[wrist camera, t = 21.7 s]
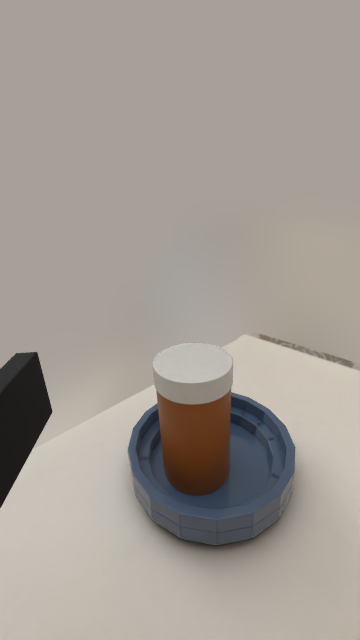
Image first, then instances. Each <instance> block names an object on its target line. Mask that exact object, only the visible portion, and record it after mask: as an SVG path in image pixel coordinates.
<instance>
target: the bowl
mask: <svg viewBox="0 0 360 640" xmlns="http://www.w3.org/2000/svg"><path fill="white" fill-rule="evenodd" d="M128 455H129V462H130V468H131V474H132V479H133V484H134V489H135V494H136V497H137V499H138V500H139V502H140V503H141V504H142V506H143V507H144V509H145V510H146V512H147V513H148V514H149V516H150V517H151V519H152V520H153V521H154V522H156V523H157V524H159V525H160V526H162V527H164V528H165V529H167V530H168V531H170V532H171V533H173V534H175V535H176V536H178V537H179V538H181V539H185V540H190V541H195V542H200V543H206V544H211V545H221V544H226V543H231V542H236V541H241V540H246V539H251V538H253V537H255V536H256V535H258V534H259V533H260V532H262V531H263V530H265V529H266V528H267V527H269V526H270V525H272V524H273V523H274V522H276V521H277V520H278V519H279V517H280V515H281V514H282V512H283V510H284V508H285V506H286V504H287V502H288V501H289V499H290V497H291V494H292V487H293V479H294V472H295V446H294V444H293V441H292V439H291V437H290V435H289V433H288V430H287V428H286V426H285V425H284V424H283V423H282V422H281V421H280V420H279V419H278V418H277V417H276V416H275V415H274V414H273V413H272V412H271V411H270V410H269V409H268V408H266V407H265V406H263V405H261V404H259V403H258V402H256V401H254V400H252V399H251V398H249V397H245V396H242V395H239V394H235V393H232V392H231V422H230V470H229V475H228V478H227V479H226V481H225V483H224V484H223V485H222V486H221V487H220V488H219V489H217V490H216V491H214V492H212V493H209V494H205V495H189V494H185V493H183V492H180V491H179V490H177V489H176V488H174V487H173V486H172V485H171V484H170V483H169V481H168V480H167V478H166V475H165V472H164V464H163V453H162V443H161V432H160V422H159V411H158V403H157V404H156V405H154V406H153V407H152V408H150V409H149V410H147V411H146V412H145V413H144V415H143V416H142V417H141V419H140V420H139V421H138V423H137V424H136V425H135V427H134V428H133V431H132V435H131V439H130V443H129V447H128Z"/></svg>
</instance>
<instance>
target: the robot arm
mask: <svg viewBox="0 0 360 640" xmlns="http://www.w3.org/2000/svg"><path fill="white" fill-rule="evenodd" d="M51 414H52V408H51V404H50V400H49V396H48V392H47V389H46V385H45V381H44V377H43V373H42V369H41V365H40V361H39V357H38V354H37V352H31V353H16V354H15V355H14V356H13V357H12V358H11V359H10V360H9V361H8V362H7V363H6V364H5V365H4V366H3V367H2V368H1V369H0V508H1V506H2V504H3V502H4V501H5V499H6V497H7V495H8V493H9V491H10V489H11V488H12V486H13V484H14V482H15V480H16V478H17V477H18V475H19V473H20V471H21V469H22V467H23V465H24V464H25V462H26V460H27V458H28V456H29V454H30V453H31V451H32V449H33V447H34V445H35V443H36V441H37V439H38V438H39V436H40V434H41V432H42V430H43V428H44V426H45V425H46V423H47V421H48V419H49V417H50V415H51Z"/></svg>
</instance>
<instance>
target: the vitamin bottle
mask: <svg viewBox="0 0 360 640" xmlns="http://www.w3.org/2000/svg"><path fill="white" fill-rule="evenodd" d="M153 372H154V383H155V387H156V390H157V401H158V411H159V422H160V432H161V443H162V453H163V464H164V472H165V475H166V478H167V480H168V481H169V483H170V484H171V485H172V486H173V487H174V488H176V489H177V490H179V491H180V492H183V493H185V494H189V495H205V494H209V493H212V492H214V491H216V490H217V489H219V488H220V487H221V486H222V485H223V484H224V483H225V481H226V479H227V478H228V475H229V470H230V422H231V387H232V383H233V359H232V357H231V355H230V354H229V353H228V352H227V351H225V350H224V349H222V348H219V347H217V346H214V345H210V344H204V343H185V344H179V345H175V346H172V347H169V348H167V349H165V350H163V351H161V352H160V353H159V354H157V356H156V357H155V358H154V361H153Z"/></svg>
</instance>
